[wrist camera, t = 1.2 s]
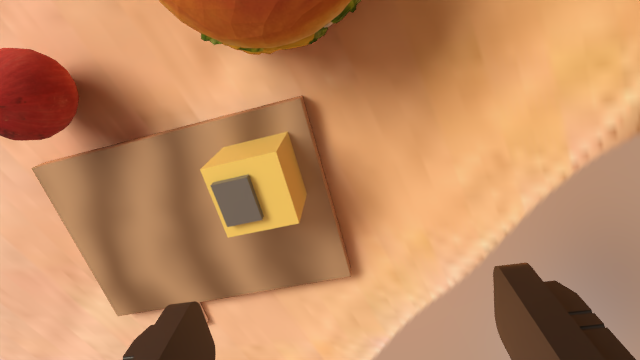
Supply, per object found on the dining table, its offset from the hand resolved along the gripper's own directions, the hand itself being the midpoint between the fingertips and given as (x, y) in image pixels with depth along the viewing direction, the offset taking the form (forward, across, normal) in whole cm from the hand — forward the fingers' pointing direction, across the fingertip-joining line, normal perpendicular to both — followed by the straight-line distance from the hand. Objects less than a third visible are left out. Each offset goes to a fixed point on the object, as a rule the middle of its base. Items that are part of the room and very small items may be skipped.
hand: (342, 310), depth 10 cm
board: (+19, +13, +6) cm, 24 cm away
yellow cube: (+18, +6, +1) cm, 19 cm away
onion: (+19, +20, -7) cm, 28 cm away
